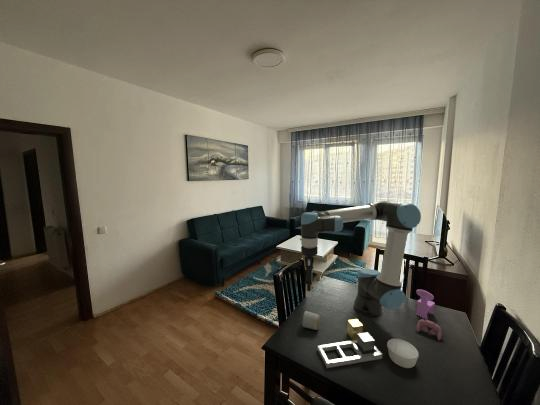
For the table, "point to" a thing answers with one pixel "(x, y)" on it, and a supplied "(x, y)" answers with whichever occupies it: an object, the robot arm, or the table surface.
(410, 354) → the ramekin
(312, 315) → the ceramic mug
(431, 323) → the video game controller
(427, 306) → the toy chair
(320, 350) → the white flat slotted board
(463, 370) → the table surface
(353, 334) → the yellow rectangular block
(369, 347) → the grey rectangular block
